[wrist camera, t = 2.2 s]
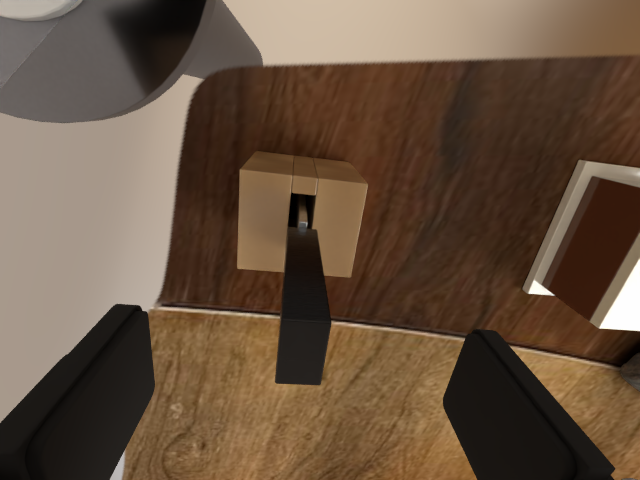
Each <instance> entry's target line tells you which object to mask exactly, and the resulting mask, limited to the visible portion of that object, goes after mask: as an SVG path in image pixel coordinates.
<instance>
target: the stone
mask: <svg viewBox="0 0 640 480" xmlns="http://www.w3.org/2000/svg"><path fill="white" fill-rule="evenodd" d="M620 374H621V376H622V377H623V378H624V380H625V381H627V382H628V383H629V384H630V385H632V386H633V387H634V388H636V389H637V390H638V391H640V352H639V353H637V354H636V355H634V356H633V357H632V358H631V359H630V360H629V361H628V362H627V363H626V364H623V365H622V366H621V369H620Z"/></svg>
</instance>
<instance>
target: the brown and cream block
mask: <svg viewBox="0 0 640 480" xmlns="http://www.w3.org/2000/svg"><path fill="white" fill-rule="evenodd" d="M522 289H523V290H524V291H525V292H526V293H528V294H540V295H553V296H556V297H558V298H559V299H560V300H562V301H563V302H564V303H566V304H567V305H568V306H570V307H571V308H572V309H574V310H575V311H576V312H578V313H579V314H580V315H582V316H583V317H584V318H586V319H587V320H588V321H590V322H591V323H592V324H593V325H595V326H596V327H597V328H601V329H616V330H631V331H640V168H639V167H632V166H624V165H616V164H609V163H601V162H593V161H586V160H579V161H578V163H577V165H576V168H575V170H574V172H573V174H572V177H571V179H570V181H569V184H568V186H567V188H566V190H565V193H564V195H563V197H562V199H561V202H560V204H559V206H558V209H557V211H556V213H555V215H554V218H553V220H552V222H551V224H550V227H549V229H548V231H547V234H546V236H545V238H544V240H543V243H542V245H541V247H540V249H539V252H538V254H537V256H536V259H535V261H534V263H533V265H532V268H531V270H530V272H529V274H528V277H527V279H526V281H525V284H524V286H523V288H522Z"/></svg>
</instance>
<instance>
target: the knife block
mask: <svg viewBox="0 0 640 480" xmlns="http://www.w3.org/2000/svg"><path fill="white" fill-rule="evenodd" d="M367 188H368V183H367V182H366V181H365V180H364V179H363V178H362V176H361V175H360V174H359V173H358V172H357V171H356V169H355V168H354V167H353V166H352V165H351V164H350V162H345V161H337V160H328V159H320V158H311V157H303V156H293V155H286V154H278V153H270V152H261V151H256V152H255V153H254V154H253V155H252V156H251V157H250V159H249V160H248V161H247V162H246V163H245V164H244V166H243V167H242V168H241V169H240V181H239V217H238V254H237V268H238V269H250V270H262V271H275V272H283V271H284V265H285V255H286V244H287V233H288V227H295V220H294V219H289V208H290V198H291V192H292V193H297V194H306V195H308V203H307V222H308V224H307V229H316V230H317V232H318V238H319V245H320V251H321V258H322V265H323V271H324V275H325V276H338V277H351V273H352V267H353V262H354V257H355V251H356V246H357V241H358V235H359V230H360V225H361V220H362V214H363V209H364V204H365V198H366V193H367Z"/></svg>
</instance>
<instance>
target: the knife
mask: <svg viewBox="0 0 640 480" xmlns="http://www.w3.org/2000/svg"><path fill="white" fill-rule="evenodd" d="M307 224H308V222H307V210H306V198H305V194H297V198H296V208H295V227H288V233H287V244H286V255H285V265H284V277H283V289H282V301H281V314H280V326H279V338H278V351H277V363H276V375H275V383H277V384H301V385H320V384H321V380H322V374H323V368H324V363H325V357H326V351H327V345H328V340H329V334H330V328H331V317H330V310H329V304H328V297H327V291H326V284H325V278H324V271H323V265H322V258H321V251H320V245H319V238H318V232H317V230H316V229H307Z"/></svg>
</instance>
